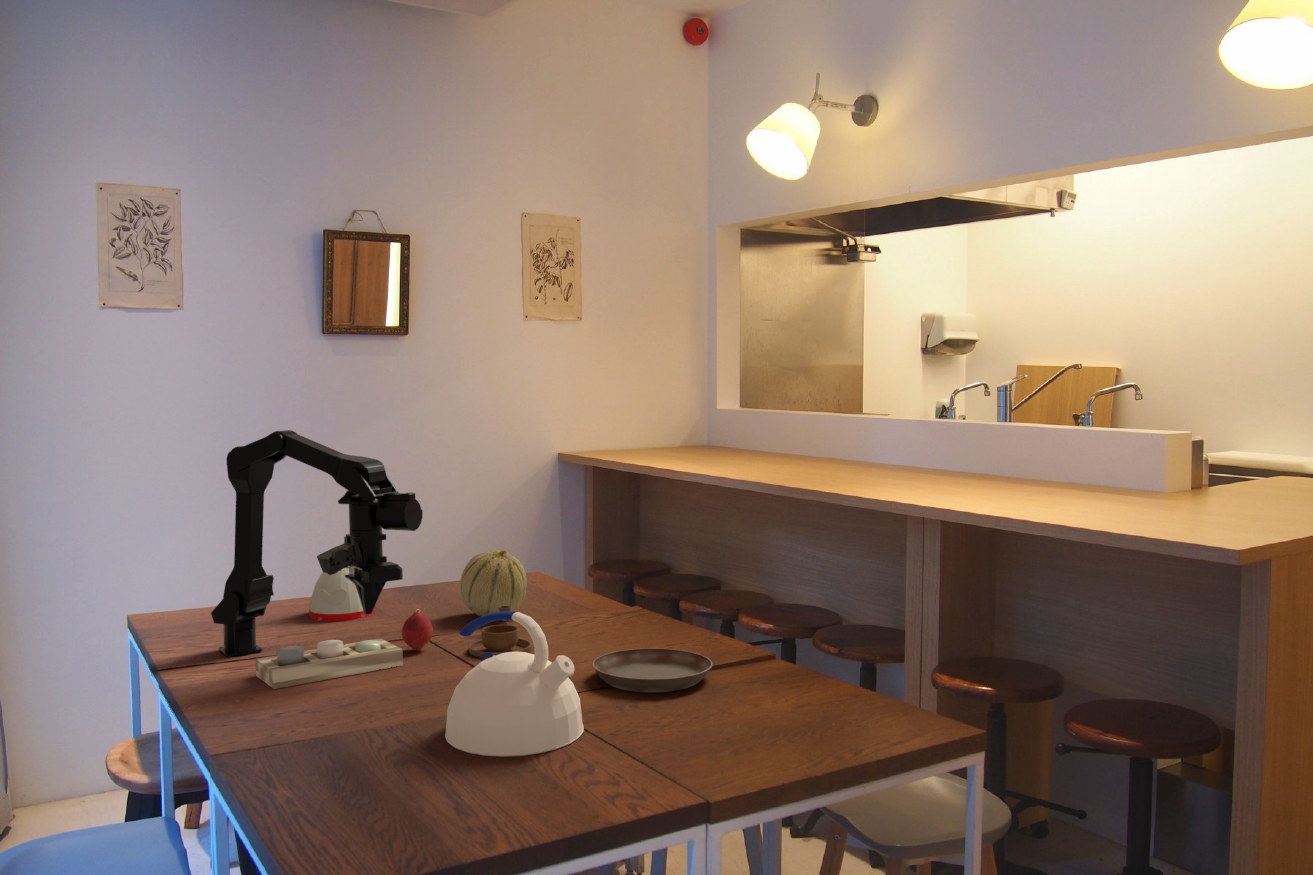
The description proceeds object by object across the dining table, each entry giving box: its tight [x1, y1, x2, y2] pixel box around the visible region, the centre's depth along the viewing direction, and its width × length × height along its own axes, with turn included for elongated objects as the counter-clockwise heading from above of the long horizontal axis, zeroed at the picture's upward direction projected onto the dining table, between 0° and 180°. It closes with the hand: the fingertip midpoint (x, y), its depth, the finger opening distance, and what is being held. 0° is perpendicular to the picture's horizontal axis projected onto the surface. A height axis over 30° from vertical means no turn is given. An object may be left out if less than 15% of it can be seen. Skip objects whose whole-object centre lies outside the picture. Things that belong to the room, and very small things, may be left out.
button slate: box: [276, 645, 305, 666], centre depth 179 cm, size 4×4×2 cm
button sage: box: [355, 639, 381, 653], centre depth 188 cm, size 4×4×2 cm
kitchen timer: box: [308, 568, 375, 622], centre depth 229 cm, size 14×14×15 cm
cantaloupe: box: [459, 549, 528, 617], centre depth 225 cm, size 15×15×15 cm
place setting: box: [468, 606, 535, 659], centre depth 200 cm, size 18×20×6 cm
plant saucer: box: [592, 647, 713, 694], centre depth 177 cm, size 21×21×3 cm
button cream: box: [316, 639, 344, 659], centre depth 184 cm, size 4×4×2 cm
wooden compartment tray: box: [255, 638, 404, 690], centre depth 184 cm, size 10×23×3 cm, turn 127°
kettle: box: [444, 610, 585, 758], centre depth 151 cm, size 20×21×18 cm
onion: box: [401, 608, 434, 652], centre depth 197 cm, size 6×6×8 cm
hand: (367, 613), depth 188 cm, fingers closed
